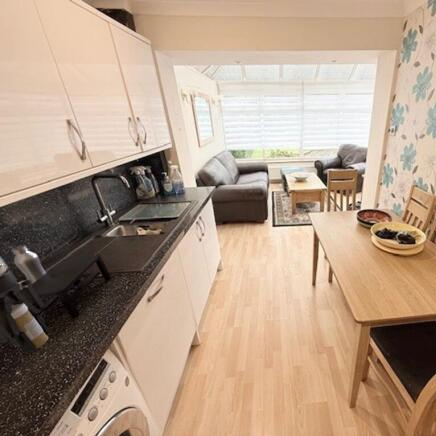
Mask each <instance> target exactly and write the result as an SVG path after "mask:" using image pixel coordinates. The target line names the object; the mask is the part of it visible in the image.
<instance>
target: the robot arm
mask: <svg viewBox="0 0 436 436" xmlns="http://www.w3.org/2000/svg"><path fill="white" fill-rule="evenodd" d="M8 266H9V265H8V264H7V263H6V261H4V259H3V258H2V256H1V255H0V343H6V342H10V343H11V345H13V346H14V347H18V348H19V349H20V350H21V351H22V352H23V353H26V352H32V351H35V350H36V349H37V348H36V347H35V346H34V344H33V343H32V342H31V341H30V339H29V338H28V337H27V336H26V334H25V333H24V332H19V331H18V328H17V326H16V323H15V321H14V318H13V317H12V315H11V312H12V307H11V306H12V305H16V304H23V303H24V304H25V305H26V306H27V308H28V311H29V312H30V313H31V315H32V316H33V317H34V318H35V320H36V321H37V322H38V324H39V325H40V326H41V328H42V329H43V331H44V333H45V334H46V335H50V333H51V330H50V328H48V326H47V325H46V323H45V321H46V320H45V318H44V317H43V316H42V315H44V313H45V310H42V309H43V308H44V307H45V305H44V302H43V301H42V299H41V297H40V298H39V296H38V295H37V293H36V292H35V290H34V289H33V287H32V283H31V280H27V279H24V280H18V279H17V277H16V276H15V274H14V272H13V271H12V270H11V269H9V267H8ZM20 293H21V294H22V295H21V294H20ZM41 310H42V311H41Z"/></svg>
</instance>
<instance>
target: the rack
mask: <svg viewBox="0 0 436 436" xmlns="http://www.w3.org/2000/svg"><path fill="white" fill-rule="evenodd" d="M95 263H96V266H97V267H98V269H99V271H95V272H92V273H91V274H90V275H89V276H88V277H87V278H85V280H84V281H83V282H82V281H81V279H80V278H81V277H82V276H83V275H85V273H86V272H87V271H88V270H89V269H90V268H92V267H93V266H94V264H95ZM100 273H101V275H102V277H103V279H104V280H105V281H110V280H111V278H112V276H111V274H110V272H109V271H108V268H107V266H106V264H105V263H104V260H103V259H102V256H101V254H96V255H95V254H94V255H88V256H79V257H72V258H71V257H69V258H63V259H62V260H60V261H59V262H58V263H57V264H56V265H54V266H53V267H52V268H50V269H49V270H48V271H46V274H44V275H43V276H42V277H40V278H39V279H38V280H37V281H35V282H34V283H33V284H32V287H33V289H34V290H35V292H36V293H37V295H38V296H39V298H40V299H41V298H46V297H50V298H48V299H47V300H46V301H45V302H43V304H44V305H45V307H44V308H43V309H42V310H41V311H47V310H48V309H49V308H50V307H51V306H52V305H53V304H55V302H56V301H58V300H60V302H61V304H60V305H59V308H65V309H66V311H67V312H68V314H69V315H70V317H71V318H72V319H77V318H79V316H80V314H81V313H80V311H78V308H77V307H76V306H75V304H74V301H75V300H76V299H77V298H78V297H79V296H80V295H81V294H82V293H83V292H84V291H85V290H86V288H87V287H88V286H89V285H90V284H91V283H92V282H93V281H94V280H95V279H96V278H97V276H99V275H100ZM81 282H82V283H81ZM80 283H81V284H80ZM79 284H80V285H79ZM73 285H74V286H75V285H79V286H78V287H77V288H76V289H75V290H74V291H73V292H72V293H71V294H70V295H69V294H68V293H67V291H68V290H69V289H70V288H71V287H72V286H73ZM20 294H21V293H20ZM21 295H22V294H21Z"/></svg>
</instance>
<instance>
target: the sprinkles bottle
mask: <svg viewBox="0 0 436 436" xmlns="http://www.w3.org/2000/svg"><path fill="white" fill-rule="evenodd" d="M11 307H12V312H11V315H12V317H13V318H14V321H15V323H16V326H17V328H18V331H19V332H24V333H25V334H26V336H27V337H28V338H29V339H30V341H31V342H32V343H33V344H34V346H35V347H36V349H38V348H40V347H41V346H43V345H44V344H45V343H46V342H48V340H49V336H48V334H45V333H44V331H43V329H42V328H41V326H40V325H39V324H38V322H37V321H36V320H35V318H34V317H33V316H32V315H31V313H30V312H29V311H28V308H27V306H26V305H25V304H24V303H23V304H16V305H12V306H11Z"/></svg>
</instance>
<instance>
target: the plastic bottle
mask: <svg viewBox="0 0 436 436" xmlns="http://www.w3.org/2000/svg"><path fill="white" fill-rule="evenodd" d="M11 252H12V254H13V255H15V256H14V259H13V264H14V265H15V266H16V267H17V268H18V269H19V270H20V271H21V272H22V274H23V275H24V276H25V278H26V280H31V283H32V284H33V283H34V282H35V281H37V280H38V279H39V278H40V277H42V276H43V275H44V274H46V273H47V271H46V269H44V267H43V265H42V263H41V261H40V258H39V255H38V254H37V253H35V252H33V251H31V250H29V249H28V247H27V246H26V245H24V244H23V245H18V246H16V247H13V248H11Z"/></svg>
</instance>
